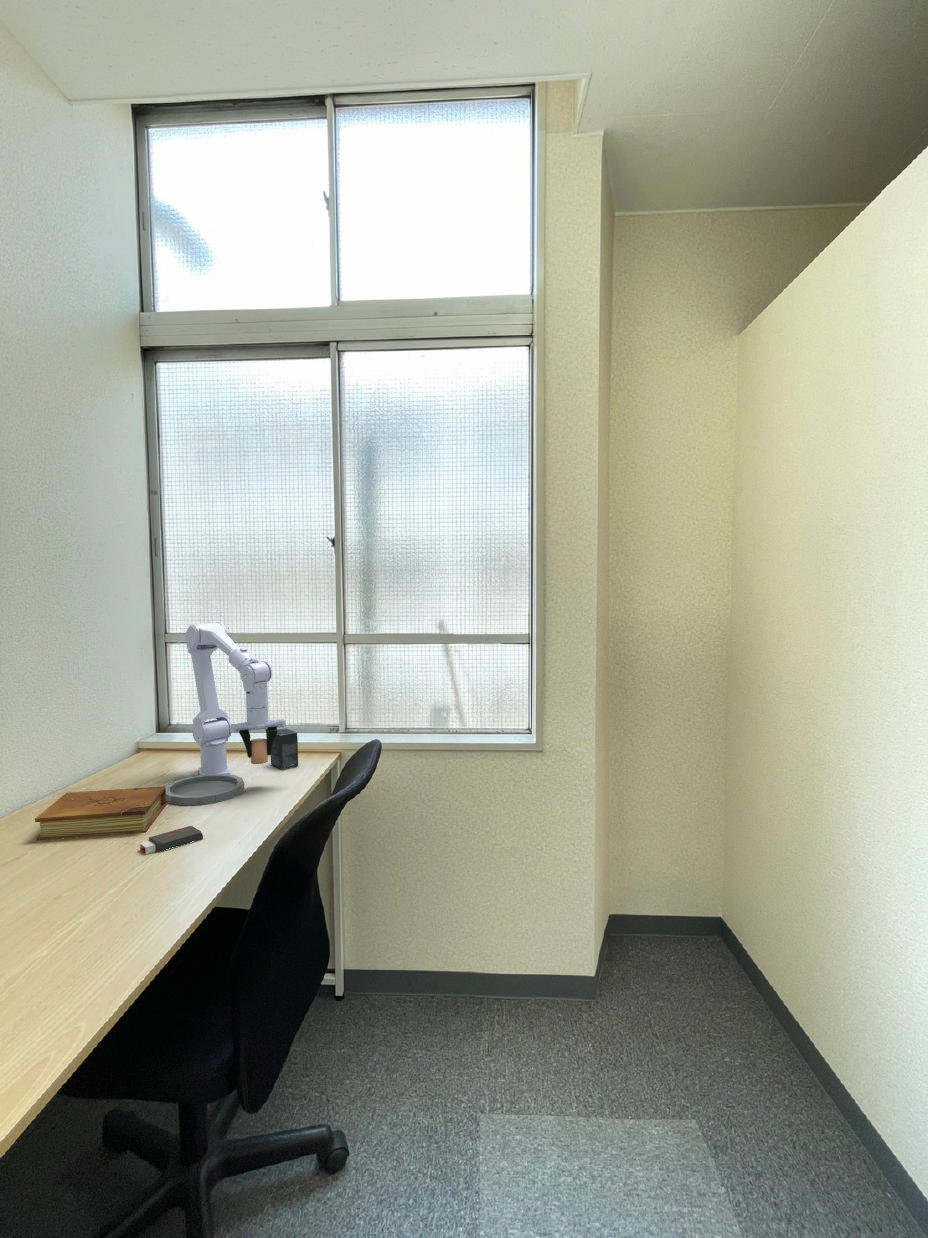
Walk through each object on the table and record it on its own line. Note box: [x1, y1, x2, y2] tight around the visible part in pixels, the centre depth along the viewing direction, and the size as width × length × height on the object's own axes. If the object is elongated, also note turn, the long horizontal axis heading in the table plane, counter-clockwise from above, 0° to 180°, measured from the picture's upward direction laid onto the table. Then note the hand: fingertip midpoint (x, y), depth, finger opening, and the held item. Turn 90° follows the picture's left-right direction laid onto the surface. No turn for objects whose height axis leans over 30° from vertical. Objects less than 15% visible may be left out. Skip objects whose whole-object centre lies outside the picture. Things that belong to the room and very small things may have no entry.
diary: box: [34, 785, 167, 842], centre depth 164 cm, size 23×19×6 cm
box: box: [270, 728, 299, 770], centre depth 209 cm, size 8×6×11 cm
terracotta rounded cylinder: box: [250, 737, 269, 765], centre depth 189 cm, size 4×4×6 cm
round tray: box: [165, 774, 245, 806], centre depth 185 cm, size 20×20×2 cm
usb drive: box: [139, 825, 204, 855], centre depth 150 cm, size 5×12×3 cm, turn 136°
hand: (259, 755), depth 189 cm, fingers closed on terracotta rounded cylinder, 4 cm apart
